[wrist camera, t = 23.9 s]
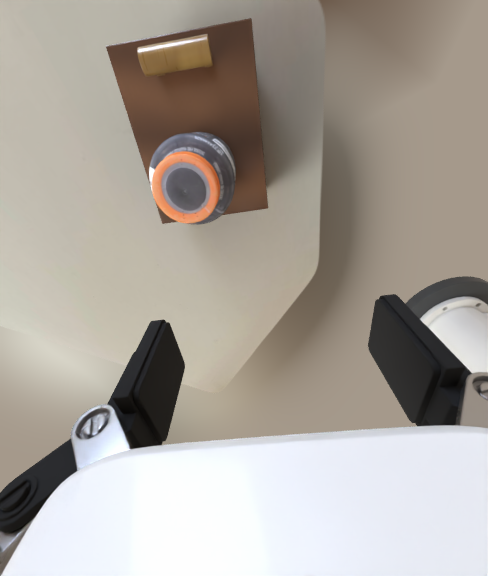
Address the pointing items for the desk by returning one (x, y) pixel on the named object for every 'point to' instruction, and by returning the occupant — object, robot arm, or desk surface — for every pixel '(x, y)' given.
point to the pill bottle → (193, 177)
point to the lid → (197, 98)
